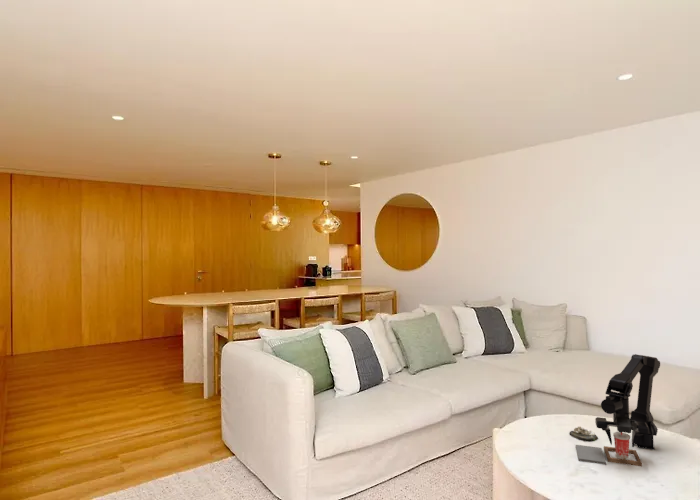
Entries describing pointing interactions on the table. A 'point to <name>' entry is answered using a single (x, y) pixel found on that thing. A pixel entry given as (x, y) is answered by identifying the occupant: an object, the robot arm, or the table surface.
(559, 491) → the table surface
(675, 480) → the table surface
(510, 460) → the table surface
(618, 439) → the beverage cup
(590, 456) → the rubber mat
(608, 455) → the socket collar
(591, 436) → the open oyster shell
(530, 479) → the table surface
